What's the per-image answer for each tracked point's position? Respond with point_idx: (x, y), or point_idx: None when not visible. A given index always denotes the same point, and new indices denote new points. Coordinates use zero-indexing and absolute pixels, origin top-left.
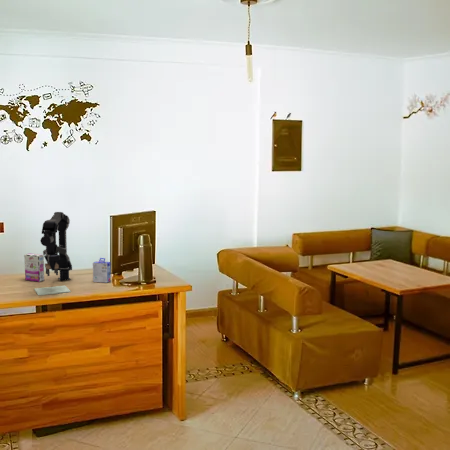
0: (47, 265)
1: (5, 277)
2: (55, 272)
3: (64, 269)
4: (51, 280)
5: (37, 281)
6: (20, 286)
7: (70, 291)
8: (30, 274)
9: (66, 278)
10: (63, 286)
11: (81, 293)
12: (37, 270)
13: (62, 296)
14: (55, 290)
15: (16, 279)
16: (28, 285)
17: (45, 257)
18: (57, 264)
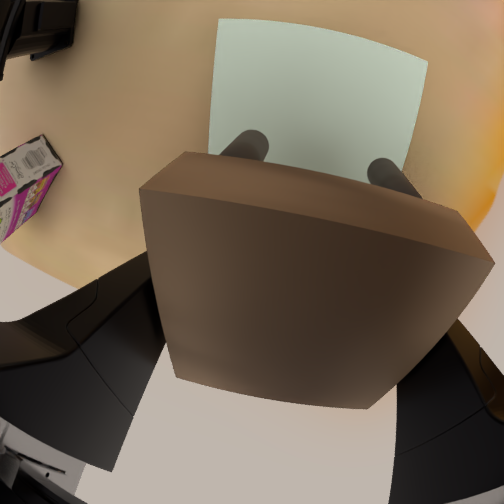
0: (345, 402)
1: (16, 254)
2: (266, 152)
3: (11, 25)
4: (48, 96)
5: (57, 172)
6: (121, 263)
7: (426, 62)
8: (22, 214)
9: (70, 9)
10: (246, 39)
11: (485, 36)
12: (11, 203)
13: (476, 166)
14: (340, 140)
15: (29, 236)
16: (110, 229)
17: (114, 456)
18: (440, 265)
